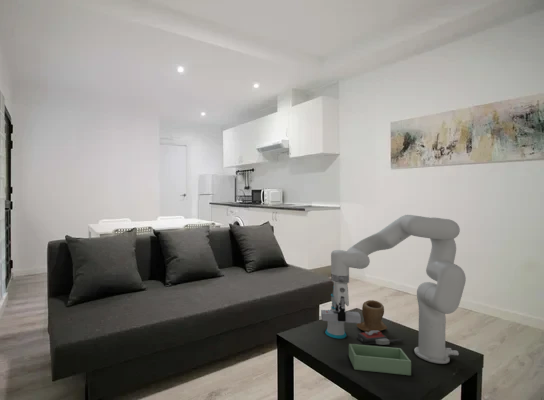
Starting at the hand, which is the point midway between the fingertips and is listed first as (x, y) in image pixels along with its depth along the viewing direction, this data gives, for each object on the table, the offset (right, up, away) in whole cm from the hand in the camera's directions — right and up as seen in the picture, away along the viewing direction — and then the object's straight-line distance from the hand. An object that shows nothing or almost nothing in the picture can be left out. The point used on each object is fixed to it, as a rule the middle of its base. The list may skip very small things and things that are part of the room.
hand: (340, 318), depth 133 cm
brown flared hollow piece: (+25, -14, +20) cm, 35 cm away
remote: (0, -1, 0) cm, 1 cm away
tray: (+11, -15, -12) cm, 22 cm away
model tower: (+4, -14, +16) cm, 22 cm away
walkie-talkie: (+22, -15, +8) cm, 28 cm away
